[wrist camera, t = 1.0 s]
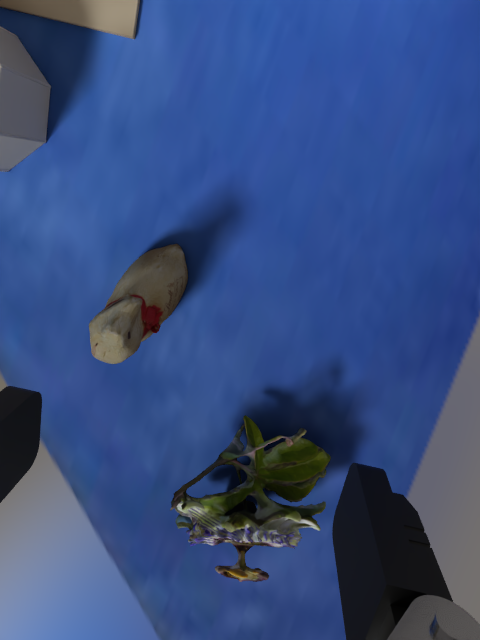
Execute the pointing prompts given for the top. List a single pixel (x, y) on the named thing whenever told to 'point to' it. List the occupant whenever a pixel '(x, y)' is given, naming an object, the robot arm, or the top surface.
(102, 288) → the top surface
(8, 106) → the octagonal hollow cup
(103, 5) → the birch lid
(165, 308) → the chocolate bunny
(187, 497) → the passion flower
